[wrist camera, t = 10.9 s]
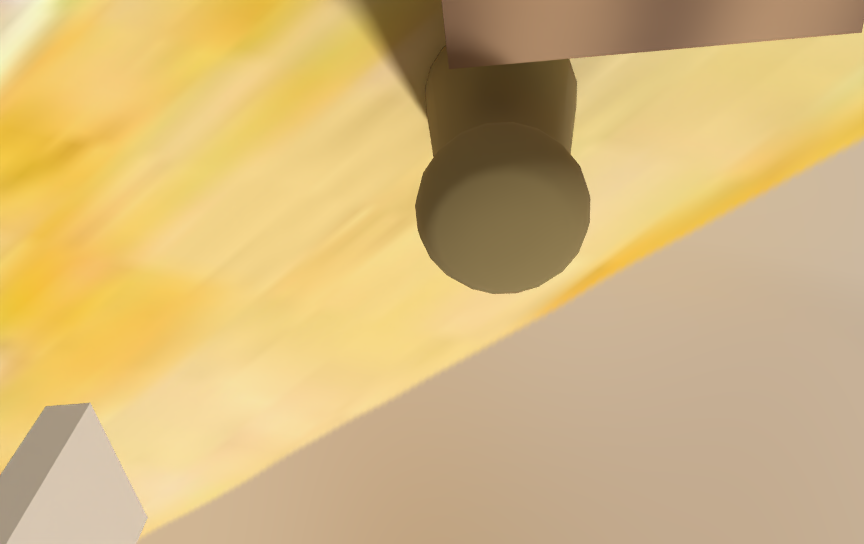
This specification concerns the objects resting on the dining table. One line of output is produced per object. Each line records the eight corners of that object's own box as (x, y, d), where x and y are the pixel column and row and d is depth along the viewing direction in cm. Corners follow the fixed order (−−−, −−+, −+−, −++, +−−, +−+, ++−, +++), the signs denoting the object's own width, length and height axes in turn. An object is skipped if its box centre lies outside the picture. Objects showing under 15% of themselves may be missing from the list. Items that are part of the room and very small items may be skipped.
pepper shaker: (461, -5, 29) (445, 105, 20) (605, 58, 30) (653, 192, 21) (402, 133, 33) (366, 282, 23) (535, 187, 34) (549, 351, 24)
